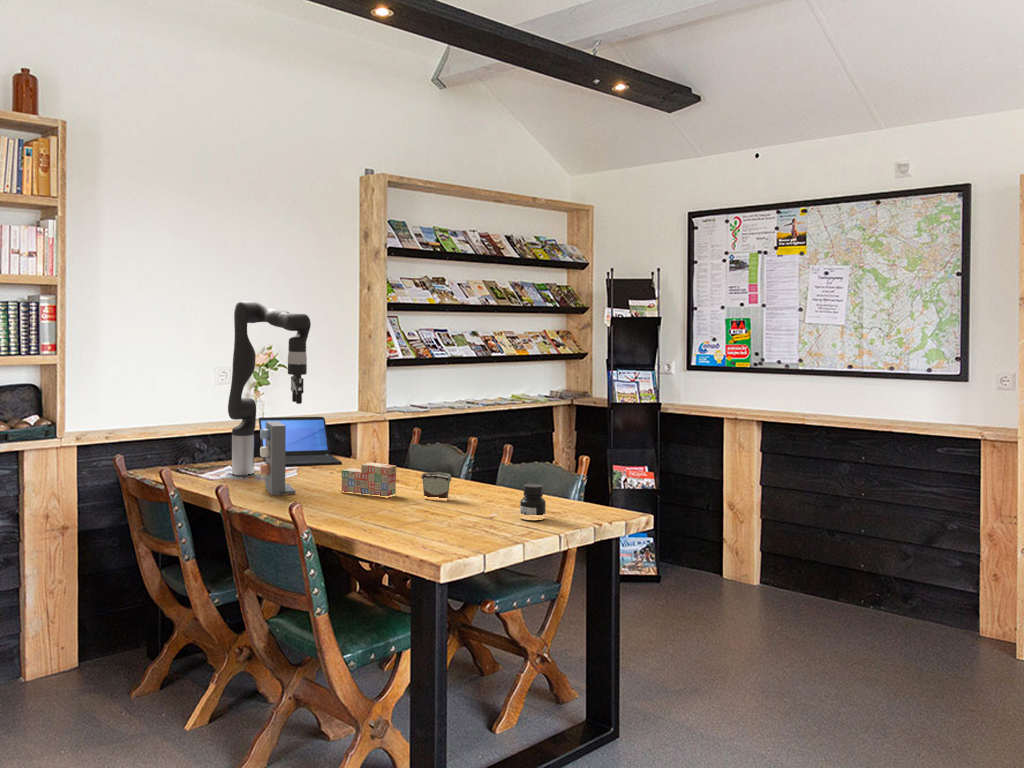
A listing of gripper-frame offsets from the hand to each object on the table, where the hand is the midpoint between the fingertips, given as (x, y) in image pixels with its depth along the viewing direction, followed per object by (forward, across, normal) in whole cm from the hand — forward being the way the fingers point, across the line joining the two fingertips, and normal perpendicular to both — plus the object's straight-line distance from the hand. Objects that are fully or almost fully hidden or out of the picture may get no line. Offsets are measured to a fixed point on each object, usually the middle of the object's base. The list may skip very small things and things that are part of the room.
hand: (297, 402), depth 362 cm
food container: (+34, +45, +46) cm, 73 cm away
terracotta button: (+27, +12, -14) cm, 33 cm away
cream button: (+20, +12, -14) cm, 27 cm away
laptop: (+34, -64, +13) cm, 74 cm away
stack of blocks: (+34, +28, +23) cm, 50 cm away
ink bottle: (+34, +88, +66) cm, 115 cm away
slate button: (+13, +12, -14) cm, 23 cm away
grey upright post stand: (+34, +12, -9) cm, 37 cm away
